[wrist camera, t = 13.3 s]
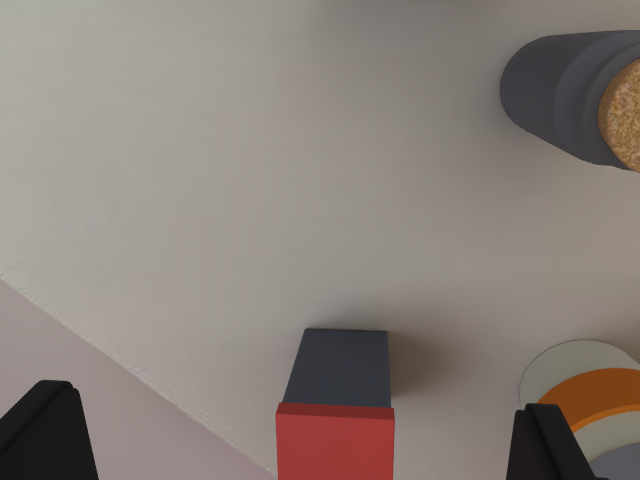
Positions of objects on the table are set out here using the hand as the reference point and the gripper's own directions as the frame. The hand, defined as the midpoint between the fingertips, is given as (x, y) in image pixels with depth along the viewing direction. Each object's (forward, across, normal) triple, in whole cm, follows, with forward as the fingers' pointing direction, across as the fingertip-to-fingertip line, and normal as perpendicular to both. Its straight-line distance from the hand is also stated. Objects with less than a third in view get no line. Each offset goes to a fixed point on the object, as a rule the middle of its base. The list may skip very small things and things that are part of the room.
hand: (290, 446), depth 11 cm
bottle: (+26, -12, -6) cm, 30 cm away
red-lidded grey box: (+20, 0, +12) cm, 24 cm away
